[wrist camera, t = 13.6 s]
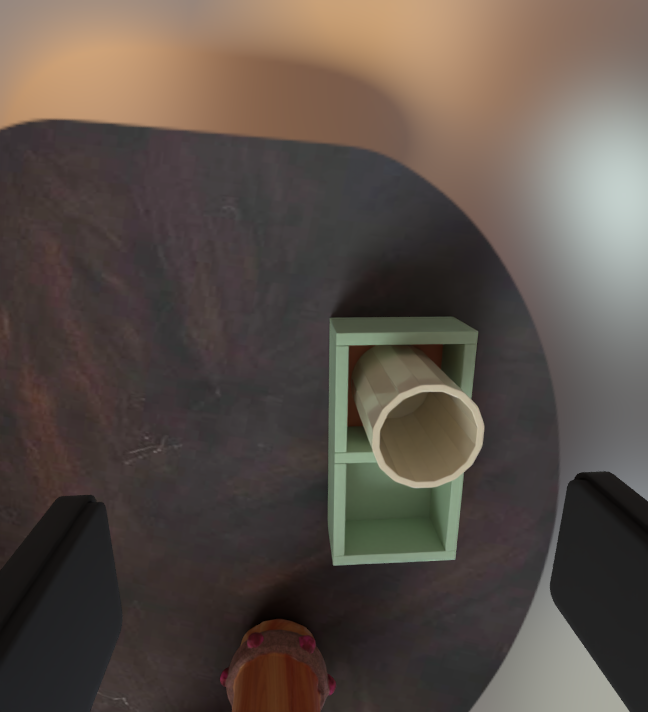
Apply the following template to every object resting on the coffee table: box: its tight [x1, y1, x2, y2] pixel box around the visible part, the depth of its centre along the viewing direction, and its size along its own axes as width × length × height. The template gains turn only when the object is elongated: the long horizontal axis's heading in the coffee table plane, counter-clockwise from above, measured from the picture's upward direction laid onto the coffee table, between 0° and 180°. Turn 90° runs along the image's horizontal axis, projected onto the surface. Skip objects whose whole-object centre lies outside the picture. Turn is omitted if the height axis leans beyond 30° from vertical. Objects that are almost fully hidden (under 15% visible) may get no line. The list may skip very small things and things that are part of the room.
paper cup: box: [351, 345, 484, 488], centre depth 29 cm, size 6×6×9 cm
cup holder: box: [328, 317, 478, 565], centre depth 33 cm, size 17×9×5 cm, turn 0°
